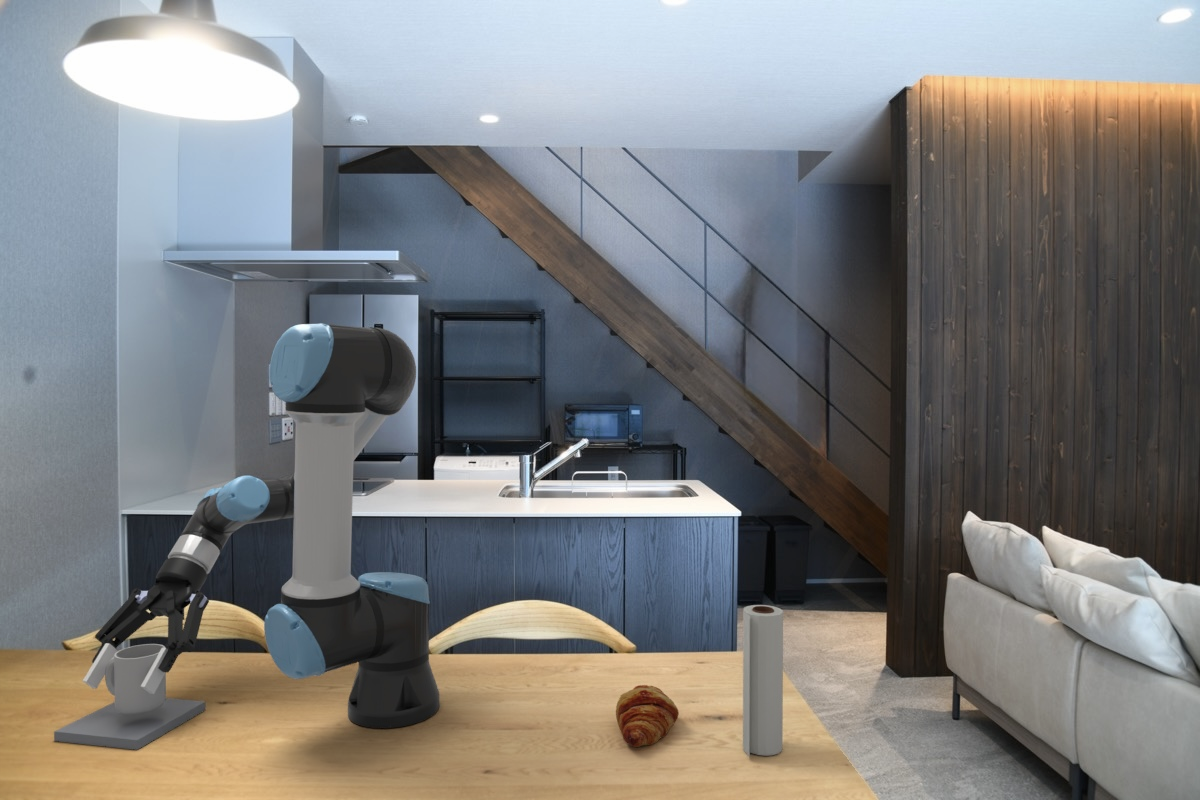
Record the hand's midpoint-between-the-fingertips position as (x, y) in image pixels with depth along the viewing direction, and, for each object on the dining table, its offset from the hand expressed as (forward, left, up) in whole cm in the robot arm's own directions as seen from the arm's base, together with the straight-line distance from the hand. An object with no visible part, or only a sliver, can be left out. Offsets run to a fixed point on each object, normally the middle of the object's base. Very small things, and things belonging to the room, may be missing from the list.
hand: (118, 687), depth 126 cm
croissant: (-82, -19, -8) cm, 85 cm away
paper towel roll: (-100, -15, -7) cm, 101 cm away
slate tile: (0, -3, -7) cm, 8 cm away
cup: (0, -3, -4) cm, 5 cm away
